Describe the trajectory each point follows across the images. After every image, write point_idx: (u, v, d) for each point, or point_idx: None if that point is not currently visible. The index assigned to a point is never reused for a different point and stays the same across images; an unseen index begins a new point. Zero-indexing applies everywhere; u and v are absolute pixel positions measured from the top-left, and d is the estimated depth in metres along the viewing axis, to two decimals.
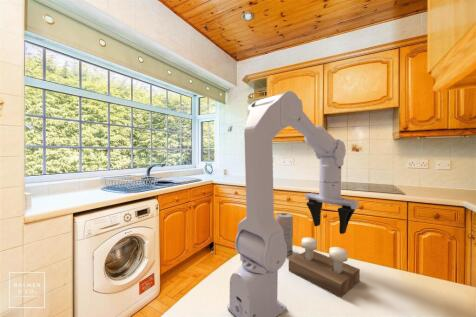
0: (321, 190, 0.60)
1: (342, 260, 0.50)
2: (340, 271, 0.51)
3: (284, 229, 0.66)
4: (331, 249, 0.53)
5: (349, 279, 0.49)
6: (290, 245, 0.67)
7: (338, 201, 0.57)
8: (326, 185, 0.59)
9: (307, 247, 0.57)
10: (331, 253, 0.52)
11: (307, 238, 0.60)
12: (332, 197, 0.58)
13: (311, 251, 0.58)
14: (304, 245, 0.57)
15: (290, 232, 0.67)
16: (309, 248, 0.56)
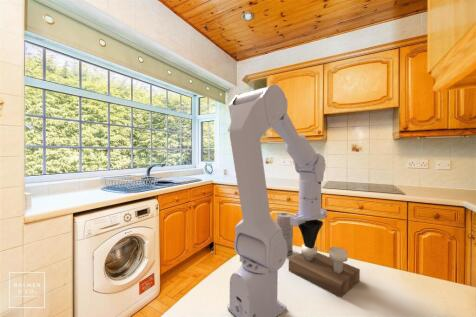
0: None
1: (342, 260, 0.50)
2: (340, 271, 0.51)
3: (284, 229, 0.66)
4: (331, 249, 0.53)
5: (349, 279, 0.49)
6: (290, 245, 0.67)
7: None
8: None
9: (307, 254, 0.57)
10: (331, 253, 0.52)
11: None
12: (299, 211, 0.59)
13: (311, 258, 0.58)
14: (304, 251, 0.57)
15: (290, 232, 0.67)
16: (309, 255, 0.57)
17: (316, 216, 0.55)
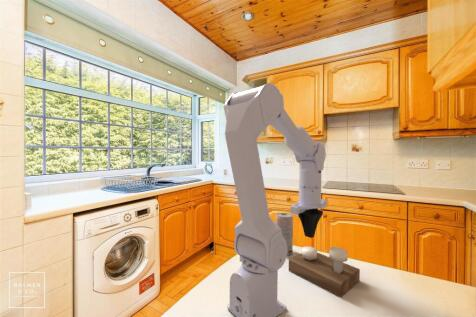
0: None
1: (342, 260, 0.50)
2: (340, 271, 0.51)
3: (284, 229, 0.66)
4: (331, 249, 0.53)
5: (349, 279, 0.49)
6: (290, 245, 0.67)
7: None
8: None
9: (307, 257, 0.57)
10: (331, 253, 0.52)
11: (307, 247, 0.60)
12: (299, 200, 0.59)
13: None
14: (304, 254, 0.57)
15: (290, 232, 0.67)
16: (309, 258, 0.57)
17: (316, 205, 0.55)
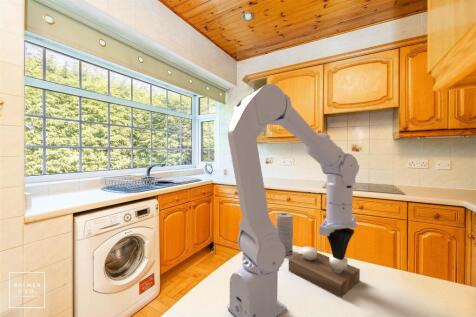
0: None
1: (342, 268, 0.50)
2: None
3: (284, 229, 0.66)
4: (331, 256, 0.53)
5: (349, 279, 0.49)
6: (290, 245, 0.67)
7: None
8: None
9: (307, 257, 0.57)
10: (331, 260, 0.52)
11: (307, 247, 0.60)
12: (326, 218, 0.52)
13: None
14: (304, 254, 0.57)
15: (290, 232, 0.67)
16: (309, 258, 0.57)
17: (348, 224, 0.49)
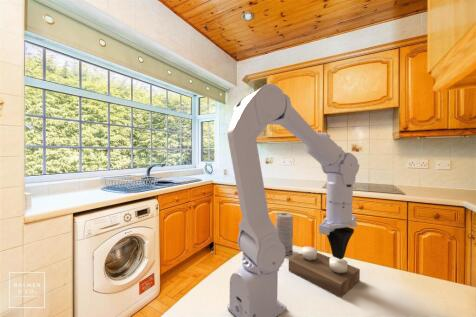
0: None
1: (342, 271, 0.50)
2: None
3: (284, 229, 0.66)
4: (331, 260, 0.53)
5: (349, 279, 0.49)
6: (290, 245, 0.67)
7: None
8: None
9: (307, 257, 0.57)
10: (331, 264, 0.52)
11: (307, 247, 0.60)
12: (326, 217, 0.52)
13: None
14: (304, 254, 0.57)
15: (290, 232, 0.67)
16: (309, 258, 0.57)
17: (348, 223, 0.49)
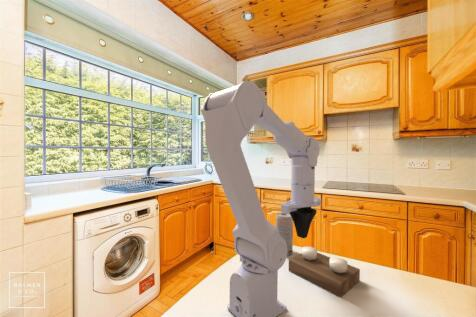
0: None
1: (342, 271, 0.50)
2: None
3: (284, 229, 0.66)
4: (331, 260, 0.53)
5: (349, 279, 0.49)
6: (290, 245, 0.67)
7: None
8: None
9: (307, 257, 0.57)
10: (331, 264, 0.52)
11: (307, 247, 0.60)
12: (291, 198, 0.55)
13: None
14: (304, 254, 0.57)
15: (290, 232, 0.67)
16: (309, 258, 0.57)
17: (309, 203, 0.52)
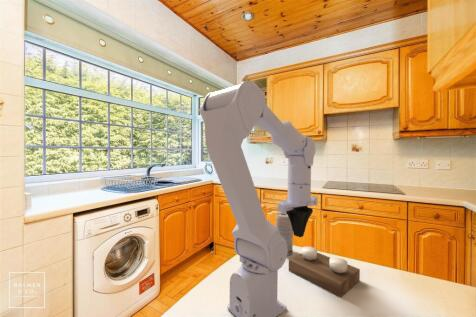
0: None
1: (342, 271, 0.50)
2: None
3: (284, 229, 0.66)
4: (331, 260, 0.53)
5: (349, 279, 0.49)
6: (290, 245, 0.67)
7: None
8: None
9: (307, 257, 0.57)
10: (331, 264, 0.52)
11: (307, 247, 0.60)
12: None
13: None
14: (304, 254, 0.57)
15: (290, 232, 0.67)
16: (309, 258, 0.57)
17: (305, 202, 0.52)
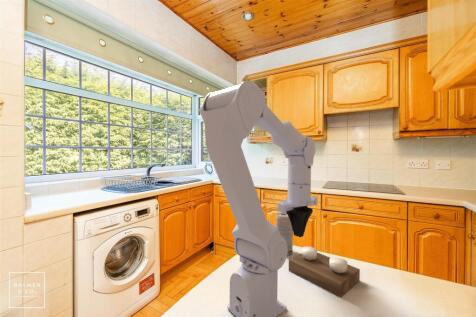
0: None
1: (342, 271, 0.50)
2: None
3: (284, 229, 0.66)
4: (331, 260, 0.53)
5: (349, 279, 0.49)
6: (290, 245, 0.67)
7: None
8: None
9: (307, 257, 0.57)
10: (331, 264, 0.52)
11: (307, 247, 0.60)
12: None
13: None
14: (304, 254, 0.57)
15: (290, 232, 0.67)
16: (309, 258, 0.57)
17: (305, 202, 0.52)
